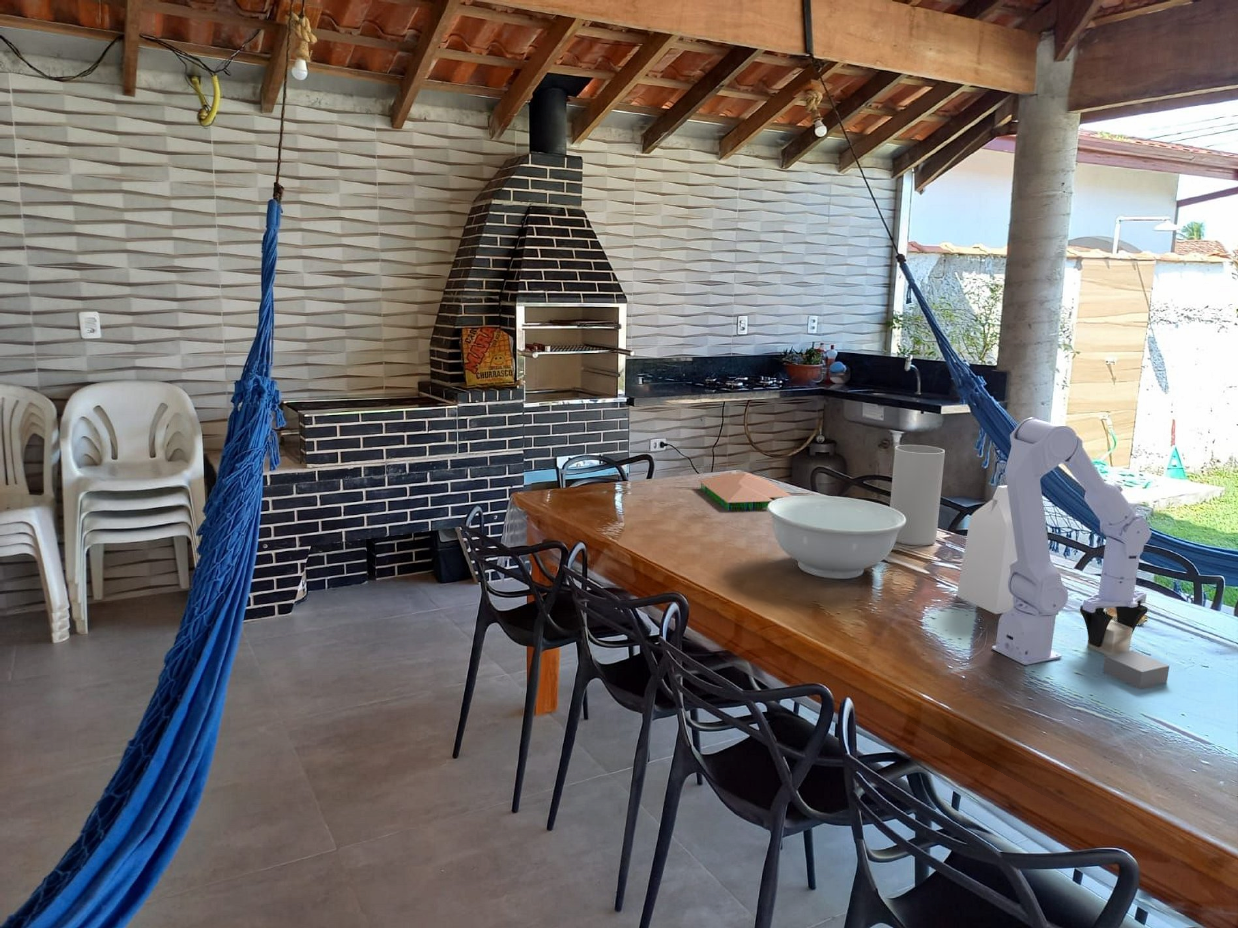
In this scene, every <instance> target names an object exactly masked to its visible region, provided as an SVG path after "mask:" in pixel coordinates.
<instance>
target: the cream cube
mask: <svg viewBox="0 0 1238 928" xmlns="http://www.w3.org/2000/svg"><path fill="white" fill-rule="evenodd" d="M1132 630H1133V628H1131V627H1128V626H1126V625H1123V624H1120V623H1118V622H1117V621H1113V620H1111V621H1110V623H1109V624H1108V626H1107V629H1106V631H1105V635H1104V640H1103V643H1102V645H1101V647H1096V646H1094V645H1091V644H1089V639H1088V638H1087V644H1086V647H1087V648H1089V649H1092V650H1094V649H1095V650H1094V651H1096V652H1099V653H1101V654H1103V653H1104V655H1105V656H1108V655H1112V654H1117V653H1122V652H1126V651H1131V649H1130V648H1131V643H1132V637H1133V636H1132V635H1133V634H1132Z"/></svg>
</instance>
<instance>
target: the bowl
mask: <svg viewBox="0 0 1238 928" xmlns="http://www.w3.org/2000/svg"><path fill="white" fill-rule="evenodd" d="M767 505H768V506H767V507H766V508H767V512H768V514H769V515H771V517H772V525H773V533H774V536H775V540H776V542H777V544H778V545H779V546H780V548H781V549H782V550H783V552H784V553H786V554H787V555H789V556H790V557H791V558H792V559H794V560H796V561H798V562H797V565H798V567H799V569H800V570H801V571H803V572H805V573H807V574H810V575H812V576H815V577H821V578H825V579H834V580H835V579H838V580H839V579H840V580H841V579H843V580H845V579H848V580H849V579H853V578H857V577H860V576H861V575H863V573H864V571H865V569H867V568H870V567H872V566H875V565H877V564H879V563H881V561H883V560H884V559H885V558H886V557H888V555H889V554H890V553H891V552H892V550H893V548H894V546H895V544H896V542H895V541H896V538H897V535H898V532H899V530H900V529H901V528H902V527H903V526H904V525H905V523H906V518H905V516H904V515H903V514H902V513H901V512H899V511H897V510H895V509H893V508H891V507H890V506H888V505H885V504H881V503H878V502H873V501H869V500H865V499H858V498H851V497H843V496H834V495H833V496H831V495H792V497H783V498H780V499H779V498H776V499H773V501H770V502H768V504H767Z"/></svg>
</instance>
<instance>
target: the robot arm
mask: <svg viewBox="0 0 1238 928" xmlns="http://www.w3.org/2000/svg"><path fill="white" fill-rule="evenodd" d="M1009 439H1010V445H1011V447H1010V452H1009V454H1008V458H1007V461H1006V465H1005V470H1004V471H1005V472H1004V474H1005V480H1006V485H1007V489H1008V496H1009V503H1010V510H1011V517H1012V524H1013V532H1014V539H1015V546H1016V553H1017V560H1016V561H1014V562H1013V563H1012V564H1011V565H1010V577H1009V580H1008V589H1009V591H1010V593H1011V594H1012V595H1013V602H1014V605H1013V607H1012V609H1011V610H1010V611H1008V612H1005V613H1001V615H1000V616H999V620H998V623H997V624H998V625H997V633H996V634H997V635H996V640H995V645H992V646H991V649H992V650H994V651H995V652H997V653H1000V654H1002V655H1004V656H1006V657H1007V658H1009V659H1012V660H1013V661H1016V662H1018V663H1020V664H1022V665H1025V666H1027V665H1031V664H1037V663H1042V662H1046V661H1053V660H1056V659H1061V658H1062V657H1063V655H1062V654H1061V653H1058V652H1056V651H1054V650H1053V641H1054V634H1055V632H1054V631H1055V627H1056V626H1055V625H1056V618H1057V617H1056V616H1058V615H1059V612H1061V611H1062V610H1064V608H1065V606H1066V605H1067V602H1068V600H1069V593H1068V589H1067V587H1066V586H1065V584H1064V583H1063V581H1062V577H1061V573H1060V572H1059V571H1060V570H1058V569H1057V567H1056V565H1055V564H1054V563H1053V561H1052V559H1051V554H1050V546H1049V539H1048V532H1047V530H1048V529H1047V523H1046V515H1045V508H1044V500H1043V492H1042V484H1041V479H1042V477H1044V476H1046V475H1047V474H1049V473H1050V472H1051V471H1052V470H1054V469H1056V467H1058V466H1059V465H1060V464H1062V465H1064V466H1065V468H1066V469H1067V470H1068V471H1069V472H1070V473H1071V474H1072V476H1073V477H1074V478H1075V479H1076V481H1077V482H1078V483H1079V484H1080V485H1081V487H1082V488H1083V489H1084V491H1085V494H1084V501H1085V503H1086V504H1087V506H1088V507H1089V508H1090V510H1091V511H1092V512H1093V514H1094V515H1095V516H1096V518H1097V519H1098V520H1099V529H1100V533H1102V534H1103V535H1105V536H1106V538H1105V545H1104V553H1103V560H1102V567H1101V572H1100V573H1101V574H1100V583H1099V587H1098V592H1097V593H1095V594H1094V595H1092V596H1090V597H1089V598H1085V599H1083V605H1080V608H1079V611H1080V614H1081V615H1082V618H1083V620H1084V623H1085V626H1086V630H1087V640H1088V639H1089V644H1091V645H1094V646H1096V647H1101V645H1102V643H1103V640H1104V635H1105V631H1106V629H1107V626H1108V624H1109V623H1110V621H1111V619H1112V618H1113V616H1111V615H1108V614H1107V612H1106V608H1111V607H1116V612H1117V621H1116V622H1118V623H1120V624H1123V625H1126V626H1128V627H1131V628H1133V630H1132V635H1133V633H1134V631H1135V630H1136V627H1137V626H1138V625H1137V624H1138V622H1139V621H1140V619H1141V618H1142V617H1143V616H1144V615H1146V614H1147V613H1148V610H1149V608H1148V607H1147V606H1145V605H1143V604H1146V600H1147V593H1146V592H1142V591H1140V590H1135V589H1136V582H1137V577H1138V576H1137V575H1138V571H1139V562H1140V555H1142V553H1143V552H1144V547H1145V545H1146V543H1147V542H1148V541H1149V540H1150V538H1151V537H1152V533H1153V531H1152V530H1150V525H1149V523H1148V521H1147V519H1146V518H1145V517H1143V516H1141V515H1138V514H1136V511H1135V509H1136V508H1135V506H1134V505H1133V504H1131V503H1129V501H1128V500H1127V499H1126V497H1125V496H1124V494H1122V492H1123V491H1124V489H1123V487H1122V486H1121V485H1119V484H1116V483H1114V482H1112V481H1107V480H1104V479H1103V477H1102V475H1101V474H1100V472H1099V471H1098V469H1097V468H1096V466H1095V464H1094V462H1093V461H1092V459H1091V458H1090V456H1089V454H1088V453H1087V451H1086V450H1085V448H1084V447H1083V440H1082V438H1080V437H1079V436H1078V435H1077V433H1076V431H1075V430H1074V429H1073V428H1072V427H1071V426H1068V425H1063V424H1057V423H1053V422H1048V421H1046V420H1041V419H1039V418H1036V417H1029V418H1026V419H1023V420H1021V422H1020V423H1018V425H1016V427H1015V428H1014V430H1013V431H1012V432H1011V433H1010V434H1009Z"/></svg>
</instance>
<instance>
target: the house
mask: <svg viewBox="0 0 1238 928" xmlns="http://www.w3.org/2000/svg"><path fill="white" fill-rule="evenodd" d="M698 482H699V483H700V489H701V490H702V491H703V492H704V493H706V494H707V495H708V496H710V497H711V498H712V499H713V500H714V501H717V503H718V504H720V505H721V506H722V507H723V508H724V509H726V510H727V511H728V512H729V511H732V510H733V508H735V507H736V508H740V507H741V509H743V510H744V511H747V509H749V511H753V509H754V506H755V503H757V506H756V508H757V509H756V510H758V509H759V507H762V510H763V509H764V508H767V506H768V504H769V503H770V502H772V501H774V500H776V499H780V498H784V497H792V496H793V495H792V494H790V493H788V492H786V491H785V490H783V489H781V488H780V487H778V486H777V485H776V484H774V483H772V482H770V481H768V480H767V479H765V478H764V477H760V476H757V475H754V474H751V473H747V472H744V471H742V472H737V473H732V472H729V473H722V474H718V475H717V474H716V475H711V477H708V478H703V479H702V478H701V479H698ZM759 503H760V504H759ZM732 504H733V505H732ZM737 504H738V505H737ZM730 507H731V510H730ZM737 510H738V509H736V511H737Z"/></svg>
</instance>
